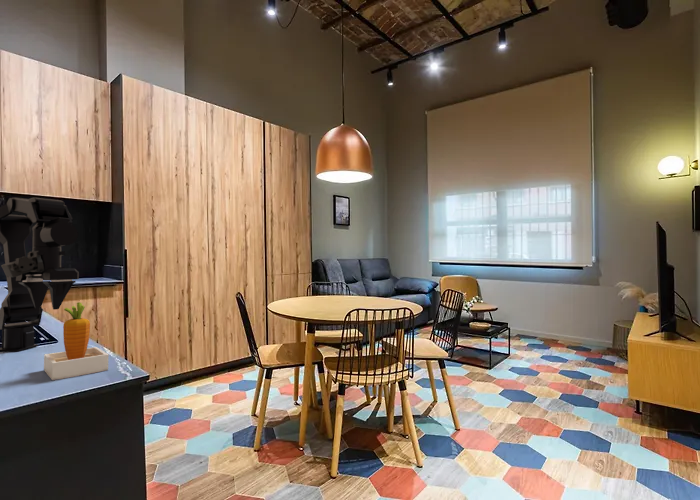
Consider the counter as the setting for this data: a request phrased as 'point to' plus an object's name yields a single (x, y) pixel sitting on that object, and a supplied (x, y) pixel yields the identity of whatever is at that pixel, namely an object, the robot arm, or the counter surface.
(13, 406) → the counter surface
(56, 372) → the beige open box
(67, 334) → the carrot
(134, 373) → the counter surface
